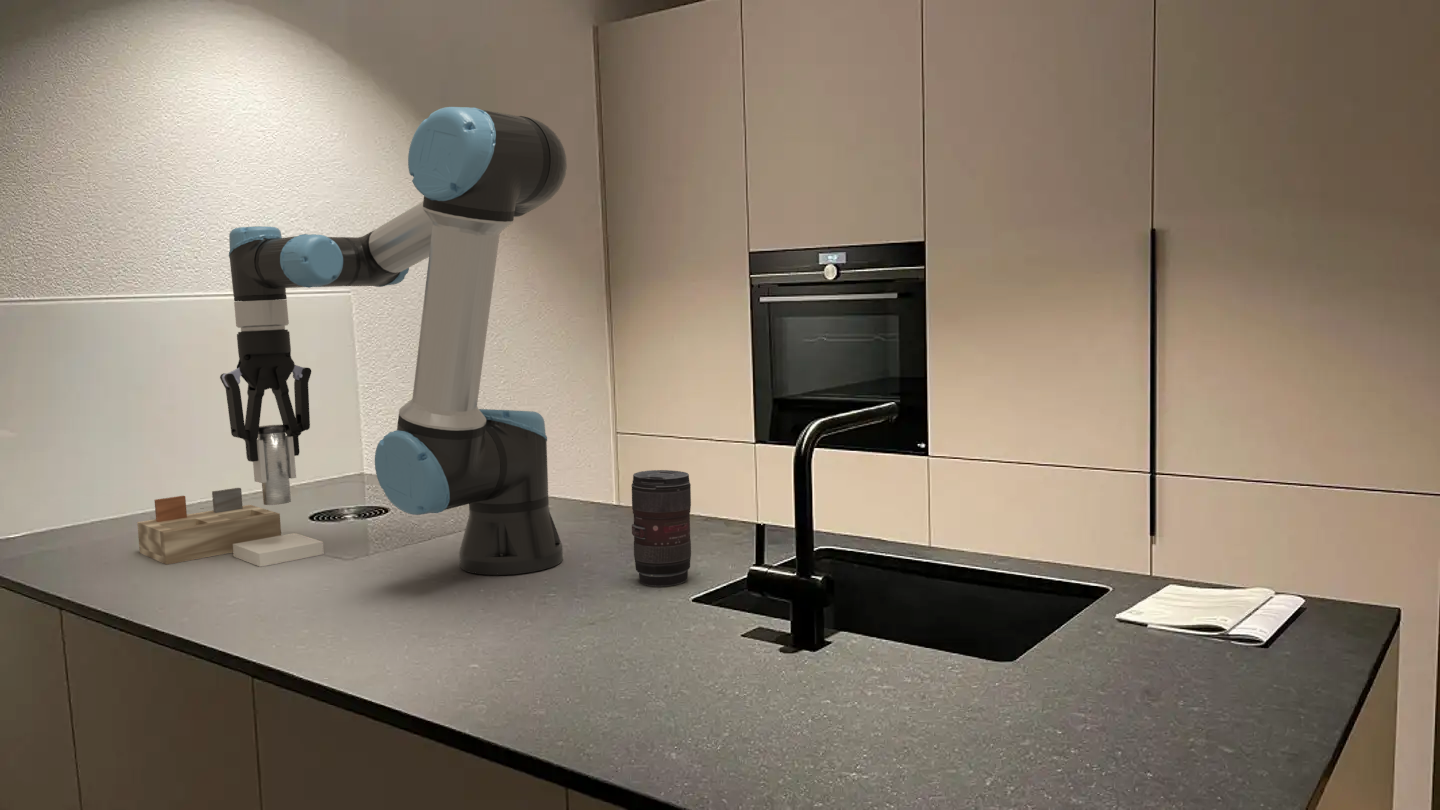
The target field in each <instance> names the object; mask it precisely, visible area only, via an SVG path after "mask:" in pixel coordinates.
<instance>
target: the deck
mask: <svg viewBox="0 0 1440 810" xmlns="http://www.w3.org/2000/svg"><path fill="white" fill-rule="evenodd" d="M322 555H325V553H324V542H323V541H322V540H318V539H315V538H311V537H308V536H305V535H304V534H303V535H302V534H300V533H296V532H293V533H288V534H281V536H275V537H270V538H264V539H258V540H253V541H247V542H242V543H236V544H233V557H234V558H236V559H239V560H241V561H245V562H247V563H250V564H251V565H254V566H256V567H260V568H262V567H266V566H270V565H271V566H272V565H276V564H277V565H278V564H281V563H286V562H287V563H288V562H292V561H297V560H301V559H308V558H312V557H316V556H322Z"/></svg>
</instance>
